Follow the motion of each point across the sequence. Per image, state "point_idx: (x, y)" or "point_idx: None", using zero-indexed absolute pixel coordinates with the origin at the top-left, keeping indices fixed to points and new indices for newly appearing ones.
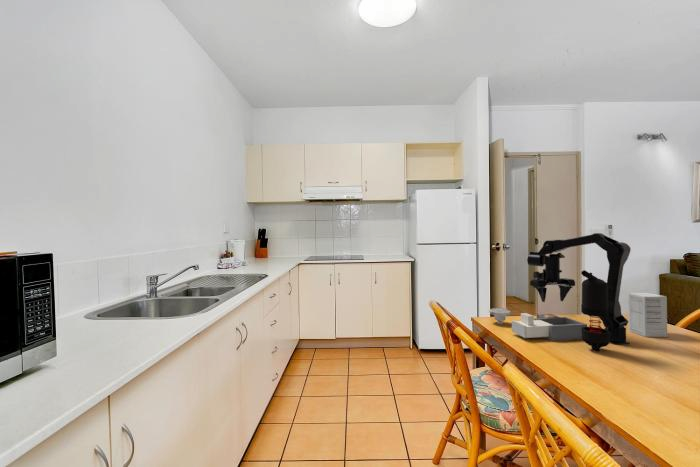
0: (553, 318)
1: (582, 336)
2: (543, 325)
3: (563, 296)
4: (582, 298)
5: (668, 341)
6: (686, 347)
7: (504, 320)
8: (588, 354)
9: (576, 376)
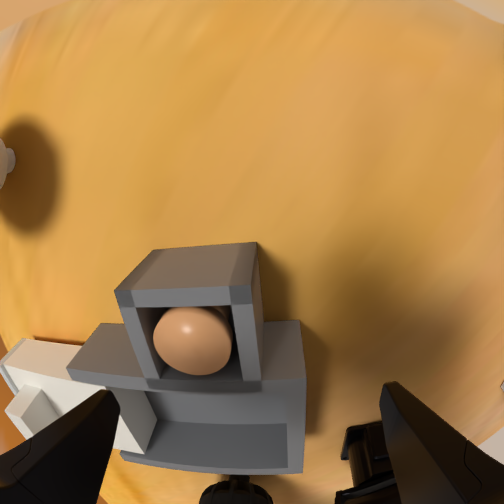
0: (192, 393)
1: (201, 498)
2: None
3: (393, 469)
4: None
5: (501, 410)
6: (480, 439)
7: (2, 185)
8: (199, 482)
9: (127, 500)
